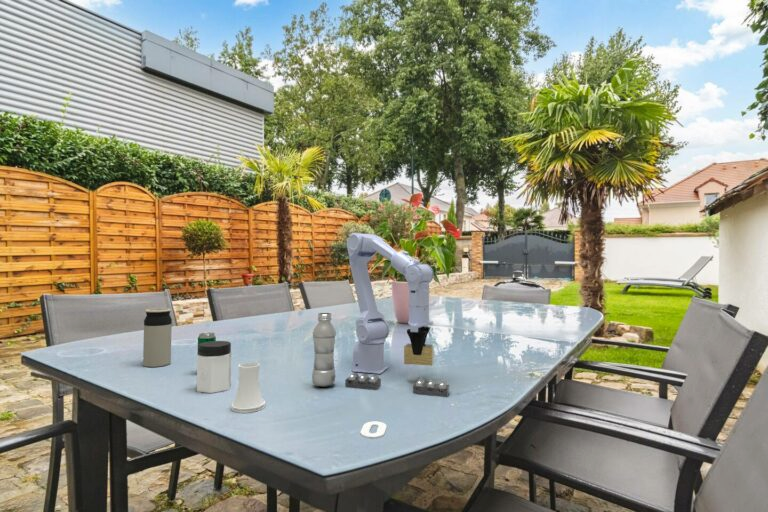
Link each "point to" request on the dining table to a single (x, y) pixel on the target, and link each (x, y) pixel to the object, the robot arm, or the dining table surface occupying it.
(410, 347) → the gold block
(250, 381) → the vase
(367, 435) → the chain link
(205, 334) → the soda can
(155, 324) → the travel mug
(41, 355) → the dining table surface
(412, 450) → the dining table surface
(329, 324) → the plastic bottle
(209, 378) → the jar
